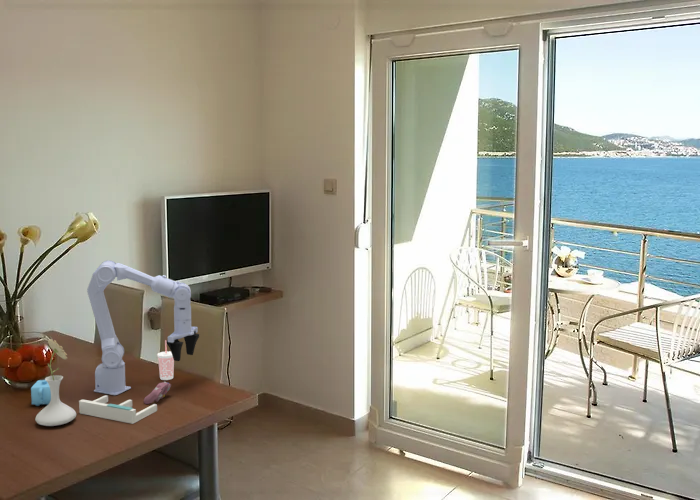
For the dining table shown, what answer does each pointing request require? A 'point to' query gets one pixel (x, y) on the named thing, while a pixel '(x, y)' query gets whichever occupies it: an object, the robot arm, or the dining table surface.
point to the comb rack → (114, 410)
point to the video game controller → (157, 393)
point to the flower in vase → (55, 397)
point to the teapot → (41, 393)
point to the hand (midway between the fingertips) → (183, 357)
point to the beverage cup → (166, 364)
